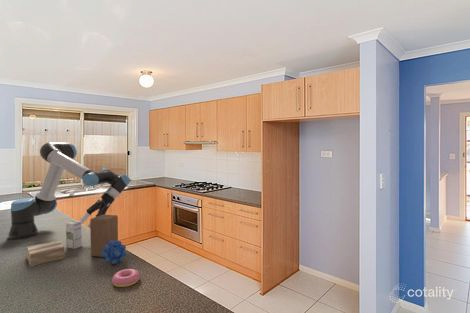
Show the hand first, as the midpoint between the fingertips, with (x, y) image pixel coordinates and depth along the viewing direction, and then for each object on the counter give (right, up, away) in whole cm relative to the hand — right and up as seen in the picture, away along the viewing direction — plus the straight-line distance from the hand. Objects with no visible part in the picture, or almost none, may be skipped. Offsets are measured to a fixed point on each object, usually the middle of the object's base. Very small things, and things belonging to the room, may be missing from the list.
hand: (84, 225), depth 156 cm
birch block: (-10, -13, -18) cm, 24 cm away
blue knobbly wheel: (+30, -13, -26) cm, 42 cm away
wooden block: (+18, -12, -13) cm, 25 cm away
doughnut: (+42, -13, -43) cm, 61 cm away
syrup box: (-4, -12, -3) cm, 13 cm away
